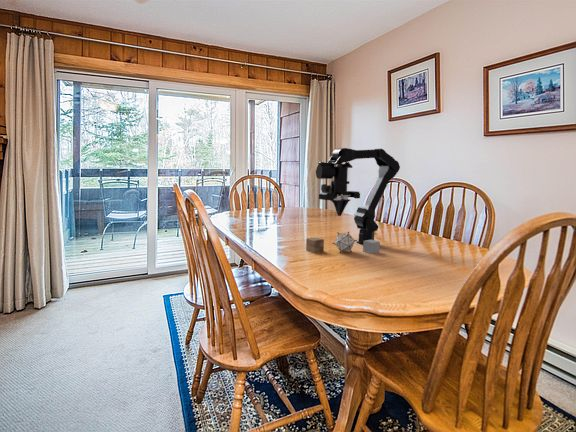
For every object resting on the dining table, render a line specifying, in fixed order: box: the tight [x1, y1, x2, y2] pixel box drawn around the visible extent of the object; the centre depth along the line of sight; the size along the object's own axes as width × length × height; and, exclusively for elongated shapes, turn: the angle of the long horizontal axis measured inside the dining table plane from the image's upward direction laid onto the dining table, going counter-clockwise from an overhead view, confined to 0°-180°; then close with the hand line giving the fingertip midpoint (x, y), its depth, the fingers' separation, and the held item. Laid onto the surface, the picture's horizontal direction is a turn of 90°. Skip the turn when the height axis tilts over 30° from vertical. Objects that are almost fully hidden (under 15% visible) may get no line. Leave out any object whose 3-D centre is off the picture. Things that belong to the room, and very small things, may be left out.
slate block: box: [362, 239, 381, 255], centre depth 141 cm, size 4×4×4 cm
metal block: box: [305, 236, 325, 254], centre depth 142 cm, size 5×5×5 cm
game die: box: [332, 231, 358, 254], centre depth 141 cm, size 9×8×10 cm
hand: (339, 215), depth 150 cm, fingers closed
